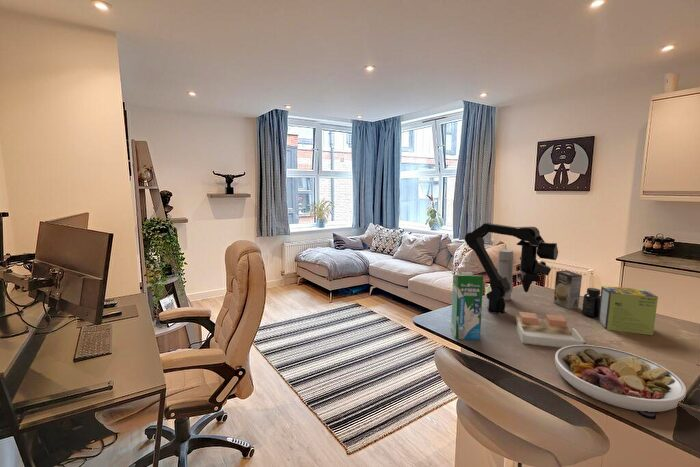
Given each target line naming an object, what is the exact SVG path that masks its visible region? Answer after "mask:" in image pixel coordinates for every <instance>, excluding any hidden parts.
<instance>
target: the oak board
mask: <svg viewBox="0 0 700 467" xmlns="http://www.w3.org/2000/svg"><path fill="white" fill-rule="evenodd" d="M515 322H516V323H515V324H517V322H518V323H521V321H520V319H519V315H517V316H515ZM521 326H522V328H523V330H530V331H539V332H549V333H558V334H567V335H571V331H572V329H571V328H570V327H569V326H568V324H566V328H565V327H556V326H549V325H548V323H547V322H546V320H545V318H538V325H537V324H527V323H521Z"/></svg>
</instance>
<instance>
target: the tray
mask: <svg viewBox="0 0 700 467" xmlns="http://www.w3.org/2000/svg"><path fill="white" fill-rule="evenodd" d="M516 331H517V333H518V336H519V338H520V341H521V344H525V345H533V346H540V347H541V346H542V347H550V348H558V349H561V348H563V347H566V346H571V345H587V342H586V340H585V339H584V338H583V337H582V336H581V334H580V333H579V332H578V331H577V329H576V328H573V327H571V335H567V334H558V333H549V332H539V331H530V330H523V328H522V326H521V323H518V322H517V323H516Z"/></svg>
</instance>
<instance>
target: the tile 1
mask: <svg viewBox="0 0 700 467" xmlns="http://www.w3.org/2000/svg"><path fill="white" fill-rule="evenodd" d="M518 317H519V319H520V321H521V323H527V324H537V325H538V319H539V318H538V315H537V314H536V313H535V312H527V311H526V312H525V311H524V312H523V311H519V312H518Z"/></svg>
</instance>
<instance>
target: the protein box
mask: <svg viewBox="0 0 700 467" xmlns="http://www.w3.org/2000/svg"><path fill="white" fill-rule="evenodd" d="M600 288H601V289H600V296H601V297H600V307H599V316H598V318H597V321H598V322H599V323H600V325H602V326H603V328H604V329H605V330H607V331H613V332H614V331H615V332H622V333H632V334H639V335H648V336H649V335H650V336H653V335H654V330H655V322H656V315H657V307H658V300H659V299H658V298H659V296H657V295H656V294H654V293H652V292H650V291H649V290H647V289H646V288H635V287H634V288H633V287H624V286H623V287H620V286H606V285H601V287H600Z"/></svg>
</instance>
